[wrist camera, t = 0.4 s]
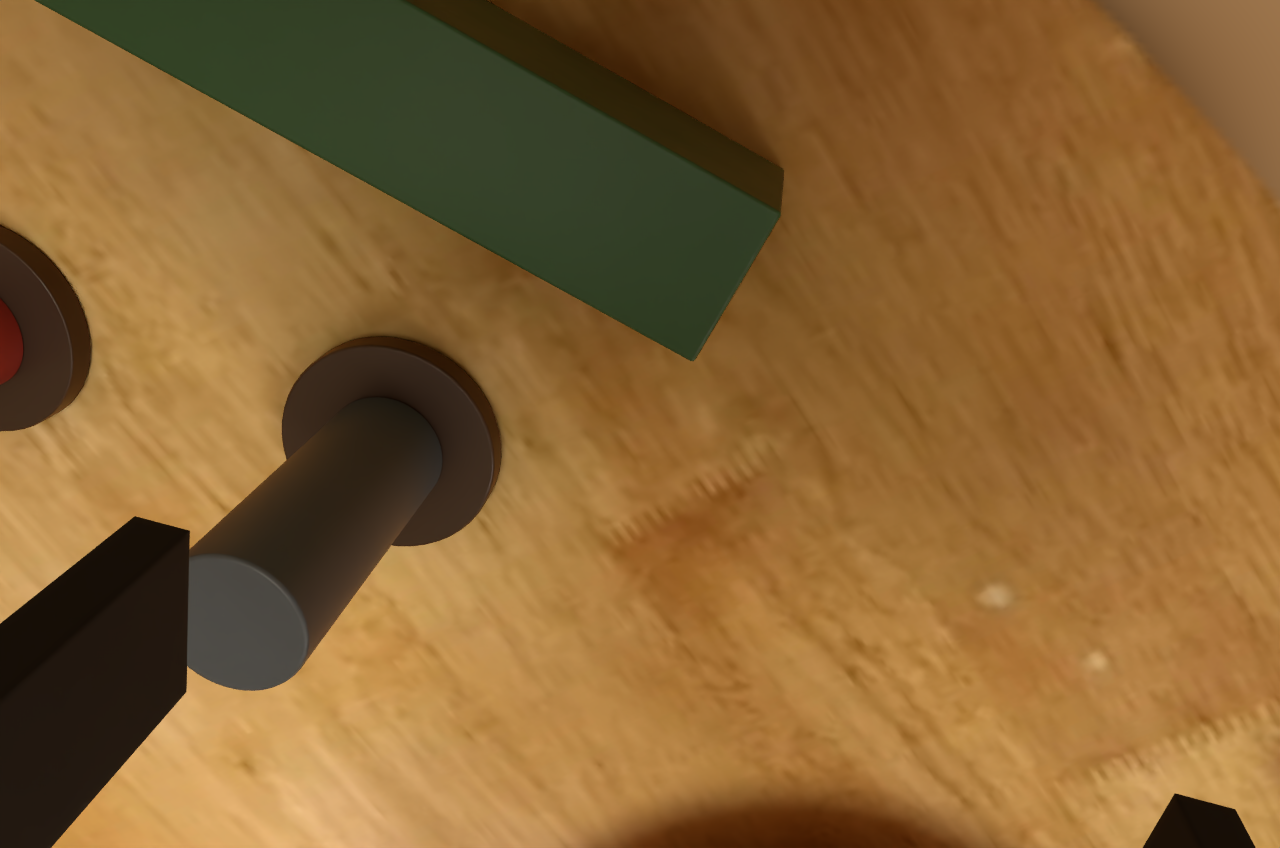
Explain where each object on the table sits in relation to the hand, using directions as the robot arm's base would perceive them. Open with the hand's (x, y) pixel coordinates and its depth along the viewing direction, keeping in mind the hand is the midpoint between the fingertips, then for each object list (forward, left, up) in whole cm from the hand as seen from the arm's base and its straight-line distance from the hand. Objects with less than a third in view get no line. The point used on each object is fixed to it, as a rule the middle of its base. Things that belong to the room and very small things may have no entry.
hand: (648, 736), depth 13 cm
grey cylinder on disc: (+4, -8, -14) cm, 16 cm away
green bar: (-6, -8, -14) cm, 17 cm away
